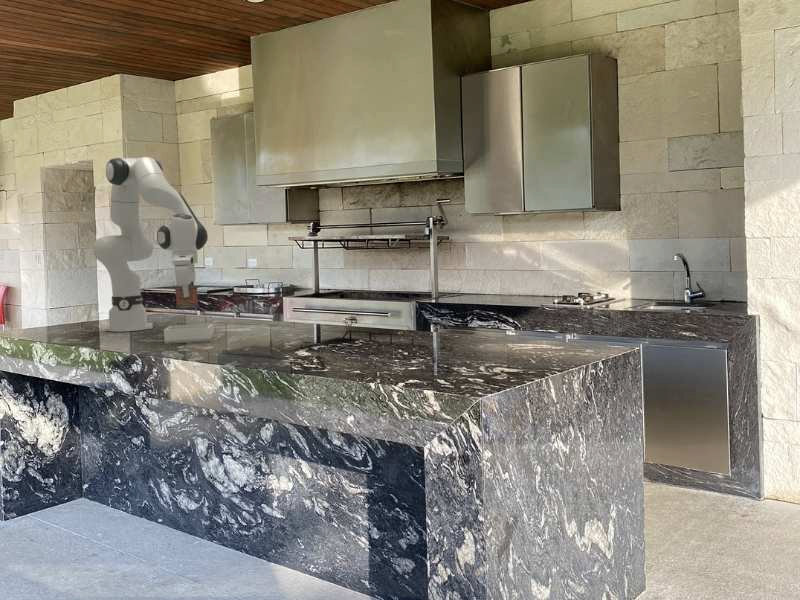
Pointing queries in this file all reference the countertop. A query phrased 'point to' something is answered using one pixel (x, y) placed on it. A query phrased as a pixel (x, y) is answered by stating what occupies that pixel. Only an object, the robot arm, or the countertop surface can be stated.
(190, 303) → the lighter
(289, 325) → the countertop surface
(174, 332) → the tray
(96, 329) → the countertop surface
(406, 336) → the countertop surface
